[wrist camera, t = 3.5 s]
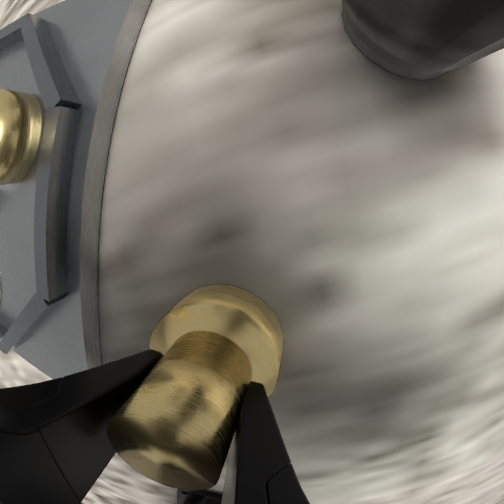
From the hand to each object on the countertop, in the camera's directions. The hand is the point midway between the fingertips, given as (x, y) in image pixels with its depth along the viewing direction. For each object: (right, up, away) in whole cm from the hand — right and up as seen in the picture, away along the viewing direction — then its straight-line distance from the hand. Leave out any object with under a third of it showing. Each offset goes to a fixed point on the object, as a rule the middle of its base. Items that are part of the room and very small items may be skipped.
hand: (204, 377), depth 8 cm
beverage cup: (+7, +12, -1) cm, 14 cm away
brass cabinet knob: (0, +1, +2) cm, 2 cm away
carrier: (-14, +8, +3) cm, 17 cm away
